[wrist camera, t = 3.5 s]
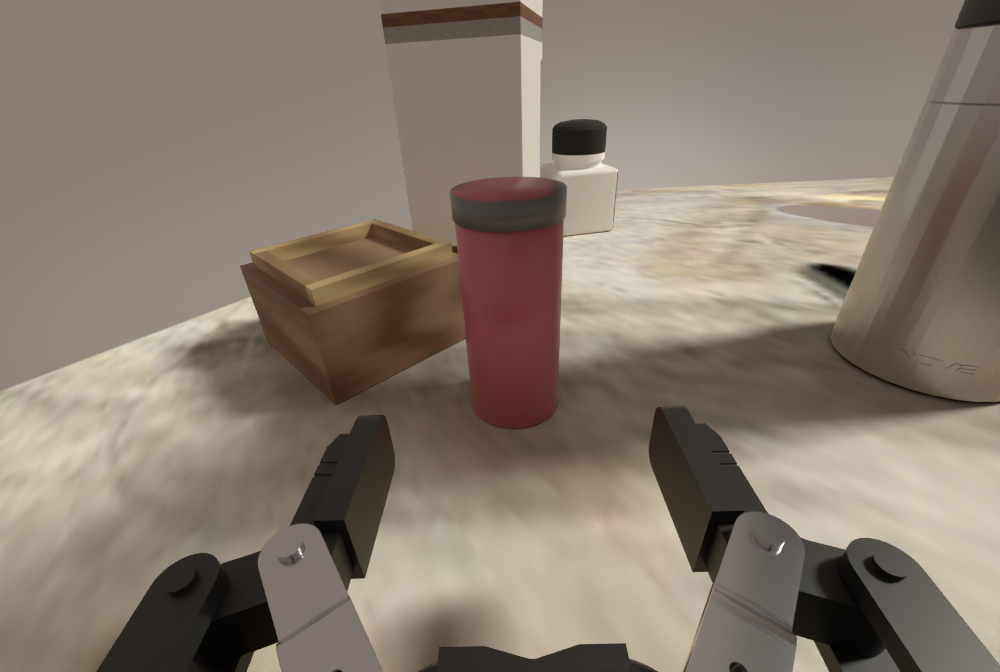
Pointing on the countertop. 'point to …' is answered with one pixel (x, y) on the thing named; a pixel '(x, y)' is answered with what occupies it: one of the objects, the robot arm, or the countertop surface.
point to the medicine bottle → (583, 175)
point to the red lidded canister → (511, 294)
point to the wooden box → (357, 303)
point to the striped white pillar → (463, 97)
